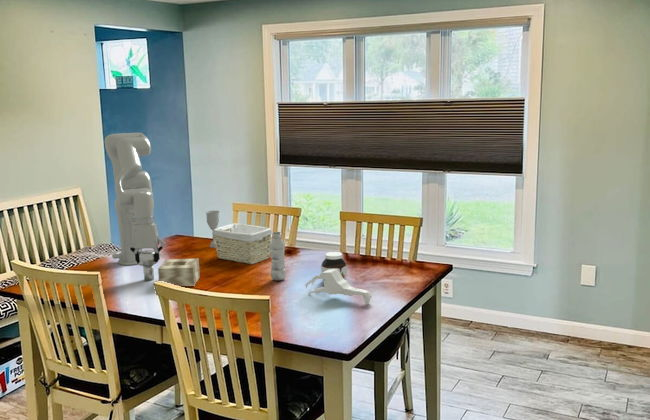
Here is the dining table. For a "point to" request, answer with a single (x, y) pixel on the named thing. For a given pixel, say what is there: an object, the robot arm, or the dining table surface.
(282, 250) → the plastic bottle
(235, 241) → the storage basket
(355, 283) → the dining table surface
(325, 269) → the spread jar
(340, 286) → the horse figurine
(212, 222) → the chalice
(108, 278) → the dining table surface
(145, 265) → the silver metal cylinder
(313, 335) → the dining table surface
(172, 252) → the dining table surface
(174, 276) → the block
